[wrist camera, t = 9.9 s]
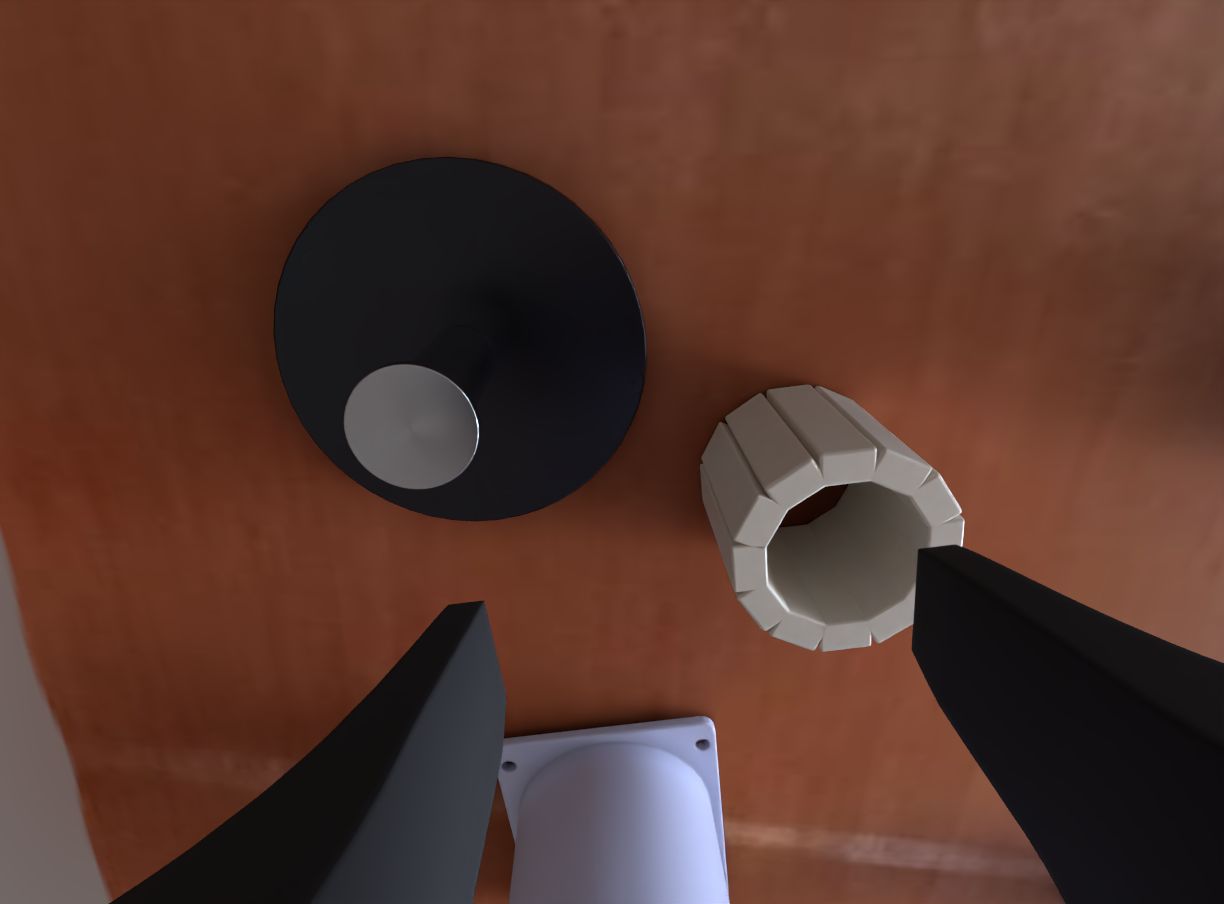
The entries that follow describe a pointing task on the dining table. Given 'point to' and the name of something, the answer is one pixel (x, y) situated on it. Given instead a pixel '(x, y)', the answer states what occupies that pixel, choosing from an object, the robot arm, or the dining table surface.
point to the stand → (460, 338)
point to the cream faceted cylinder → (822, 517)
